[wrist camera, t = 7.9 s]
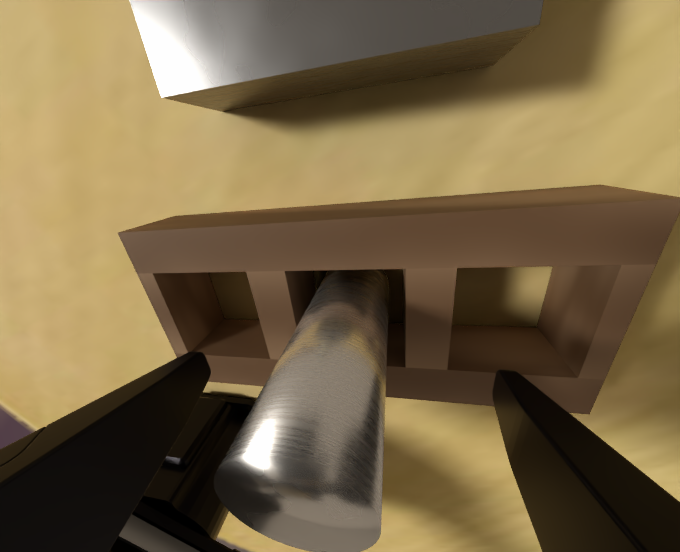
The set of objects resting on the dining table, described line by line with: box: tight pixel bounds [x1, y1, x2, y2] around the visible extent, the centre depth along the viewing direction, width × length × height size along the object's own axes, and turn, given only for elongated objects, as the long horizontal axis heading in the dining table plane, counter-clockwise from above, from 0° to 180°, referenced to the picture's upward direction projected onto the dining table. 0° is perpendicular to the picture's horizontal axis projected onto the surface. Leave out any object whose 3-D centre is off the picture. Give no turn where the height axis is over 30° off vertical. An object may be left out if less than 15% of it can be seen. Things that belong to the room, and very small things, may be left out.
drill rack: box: [118, 185, 680, 414], centre depth 11 cm, size 8×18×3 cm, turn 96°
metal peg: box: [214, 269, 389, 552], centre depth 9 cm, size 3×3×9 cm
